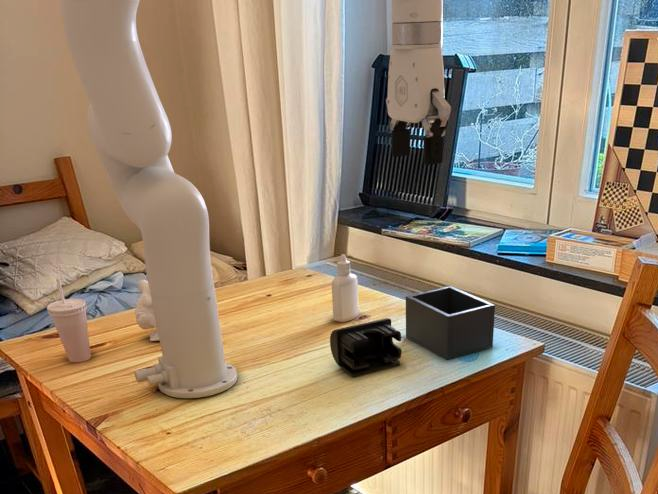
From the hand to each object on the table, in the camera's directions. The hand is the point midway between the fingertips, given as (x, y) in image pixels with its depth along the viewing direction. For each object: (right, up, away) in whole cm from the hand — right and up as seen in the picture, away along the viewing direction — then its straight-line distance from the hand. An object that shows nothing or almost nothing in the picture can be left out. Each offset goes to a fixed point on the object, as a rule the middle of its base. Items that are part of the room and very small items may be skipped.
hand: (416, 159), depth 121 cm
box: (+6, -28, +10) cm, 30 cm away
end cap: (-8, -33, +3) cm, 34 cm away
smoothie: (-58, -30, +10) cm, 67 cm away
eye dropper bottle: (-12, -21, +23) cm, 33 cm away
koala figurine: (-46, -26, +17) cm, 55 cm away
